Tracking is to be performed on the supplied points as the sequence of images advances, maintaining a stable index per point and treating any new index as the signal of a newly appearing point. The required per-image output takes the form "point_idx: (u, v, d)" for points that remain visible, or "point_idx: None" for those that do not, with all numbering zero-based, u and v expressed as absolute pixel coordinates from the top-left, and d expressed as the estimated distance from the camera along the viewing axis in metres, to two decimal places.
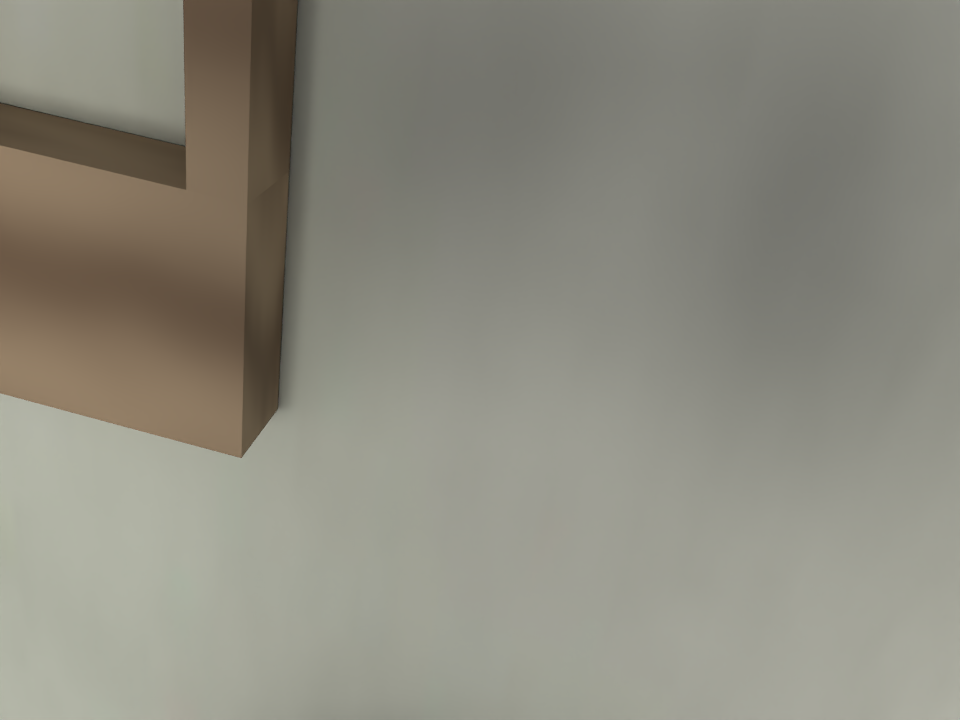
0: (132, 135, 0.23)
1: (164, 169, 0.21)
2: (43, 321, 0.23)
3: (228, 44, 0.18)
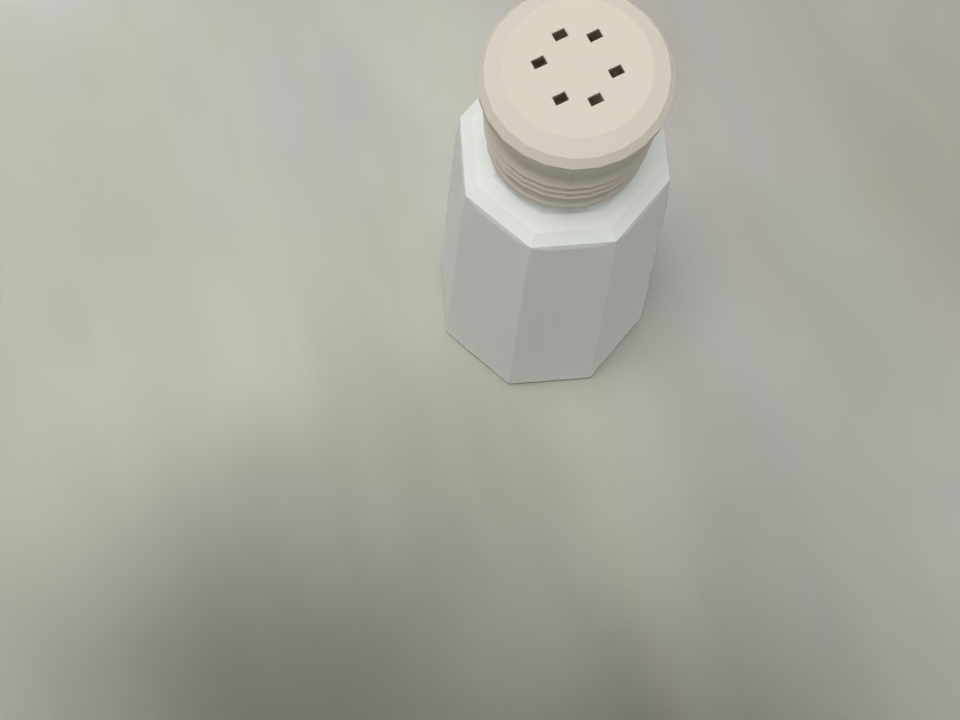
0: None
1: None
2: None
3: None
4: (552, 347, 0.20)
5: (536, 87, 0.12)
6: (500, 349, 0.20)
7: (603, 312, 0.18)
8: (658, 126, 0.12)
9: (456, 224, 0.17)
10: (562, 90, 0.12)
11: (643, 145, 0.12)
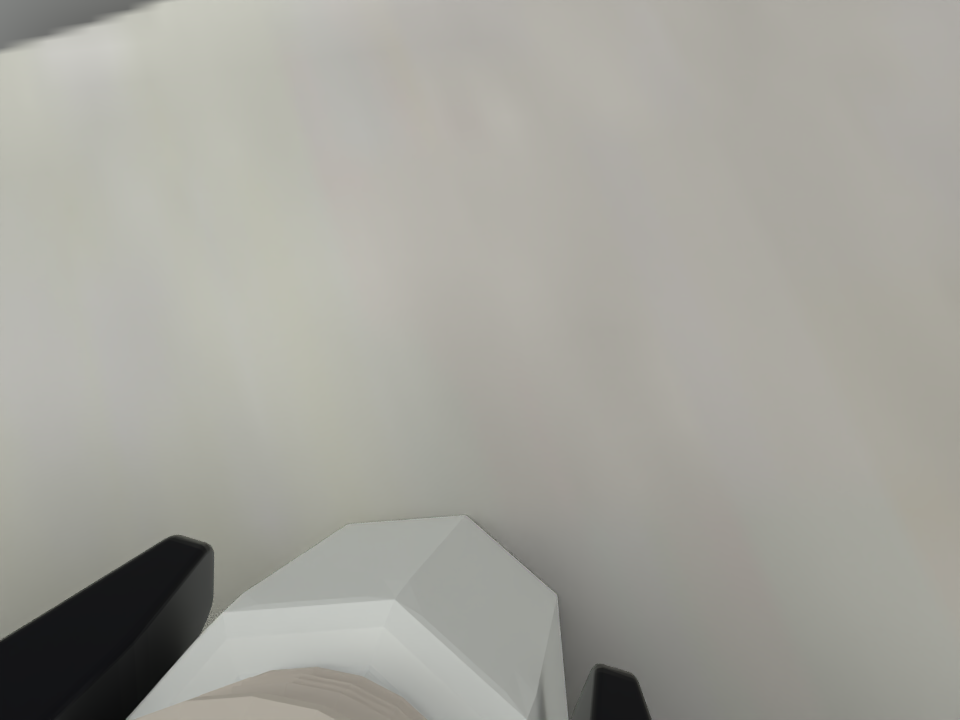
0: None
1: None
2: None
3: None
4: None
5: None
6: None
7: None
8: None
9: None
10: None
11: None
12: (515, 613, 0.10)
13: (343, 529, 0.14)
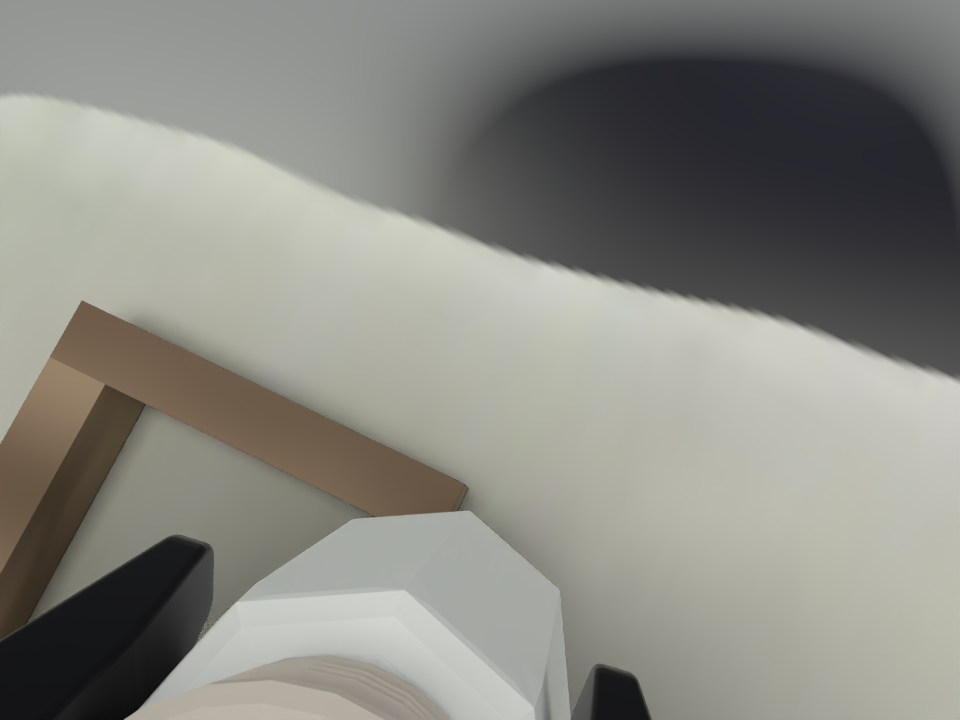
0: None
1: None
2: None
3: None
4: None
5: None
6: None
7: None
8: None
9: None
10: None
11: None
12: (520, 606, 0.11)
13: (348, 524, 0.14)
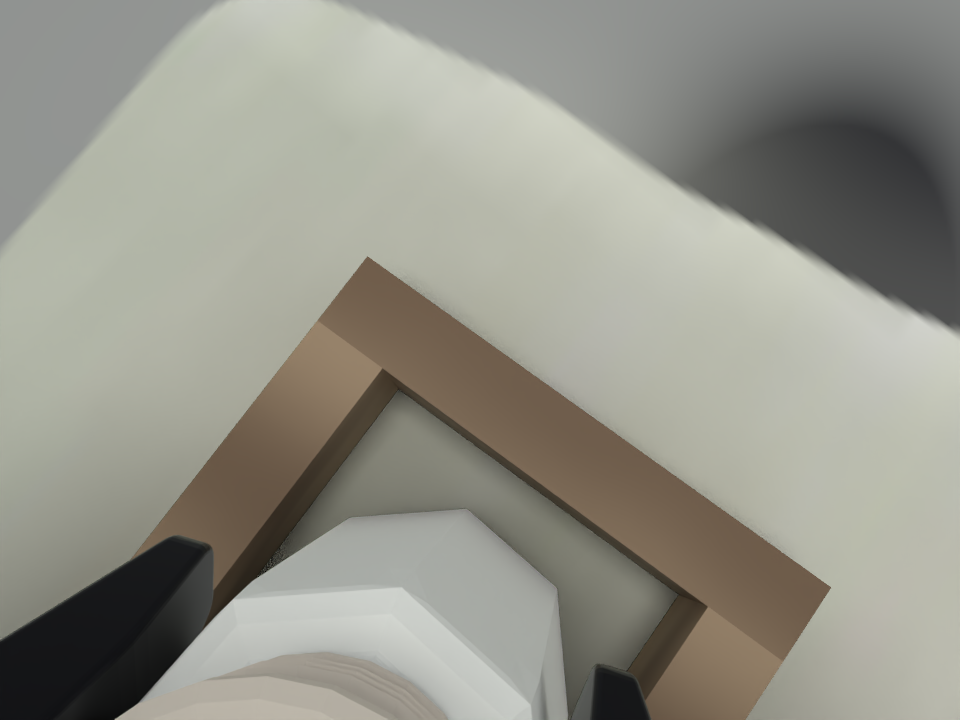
0: None
1: None
2: None
3: None
4: None
5: None
6: None
7: None
8: None
9: None
10: None
11: None
12: (517, 604, 0.11)
13: (346, 522, 0.14)
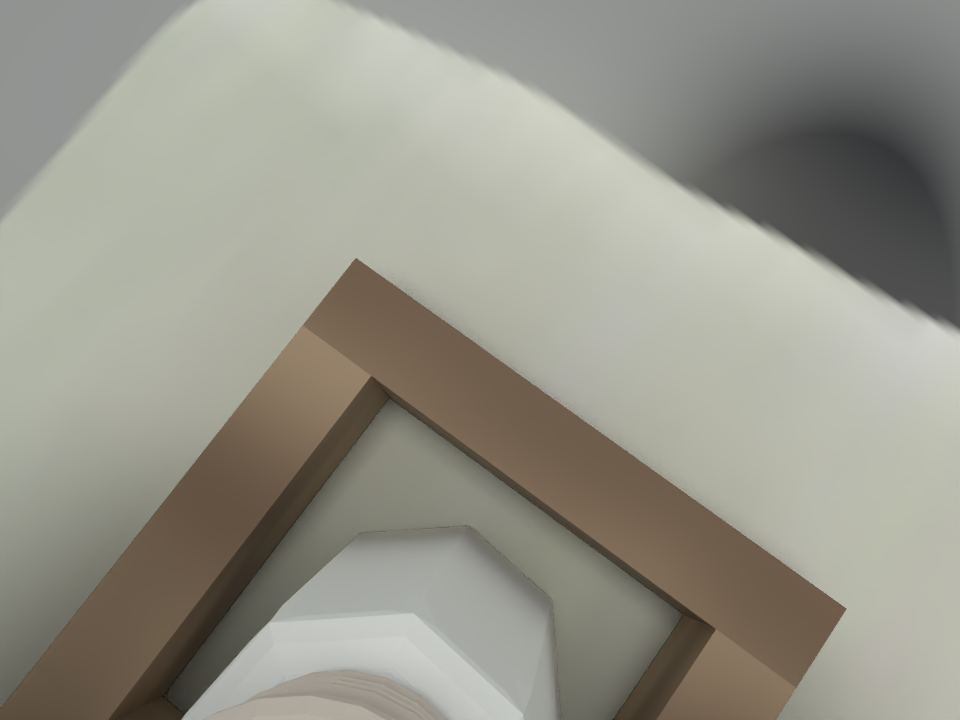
0: None
1: None
2: None
3: None
4: None
5: None
6: None
7: None
8: None
9: None
10: None
11: None
12: (514, 620, 0.12)
13: (357, 539, 0.16)
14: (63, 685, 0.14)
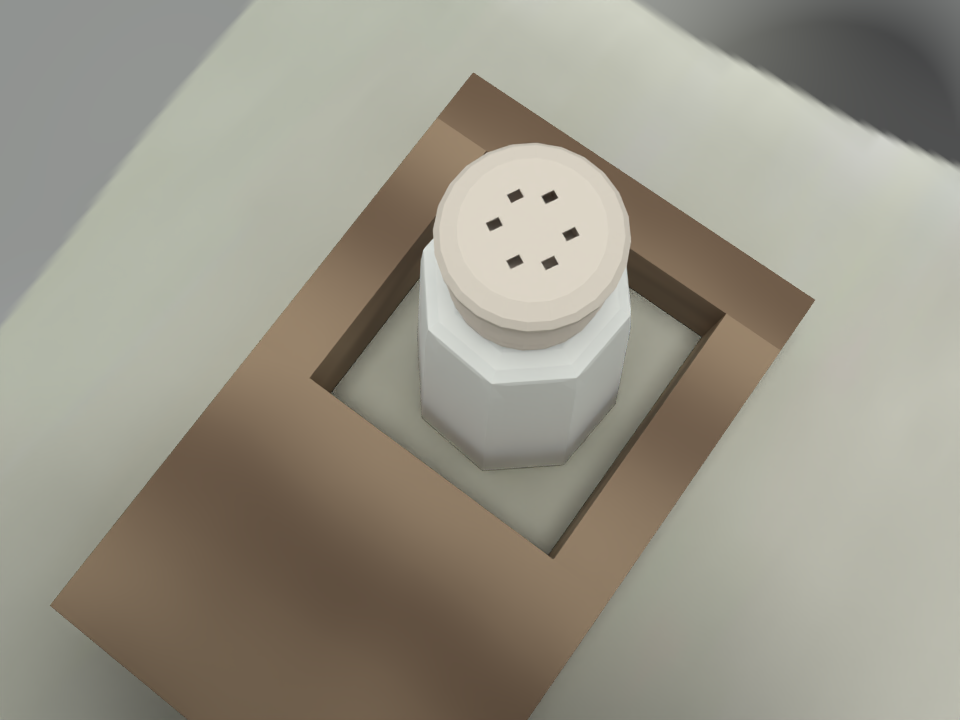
0: None
1: None
2: (281, 621, 0.19)
3: (678, 460, 0.20)
4: (523, 446, 0.20)
5: (491, 249, 0.12)
6: (472, 444, 0.20)
7: (570, 423, 0.18)
8: (612, 288, 0.12)
9: (423, 340, 0.17)
10: (516, 253, 0.12)
11: (597, 307, 0.12)
12: None
13: None
14: (281, 352, 0.21)
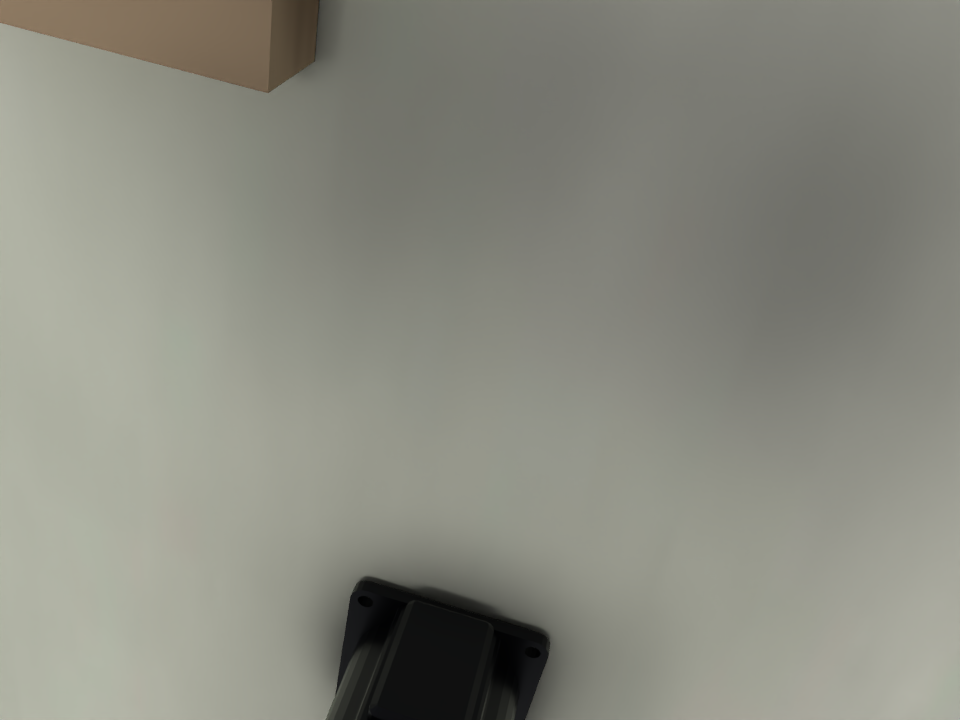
0: None
1: None
2: None
3: None
4: None
5: None
6: None
7: None
8: None
9: None
10: None
11: None
12: None
13: None
14: None
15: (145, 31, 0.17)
